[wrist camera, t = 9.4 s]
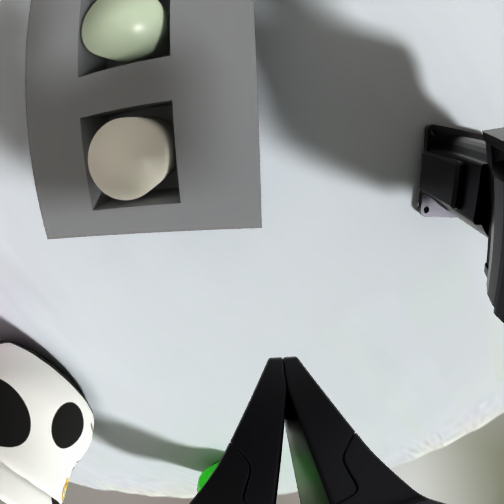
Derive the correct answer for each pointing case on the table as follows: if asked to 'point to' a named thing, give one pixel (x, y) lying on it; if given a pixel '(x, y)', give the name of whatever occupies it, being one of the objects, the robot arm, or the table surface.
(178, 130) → the button panel
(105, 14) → the sage button
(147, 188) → the cream button
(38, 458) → the milk container
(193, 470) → the table surface
